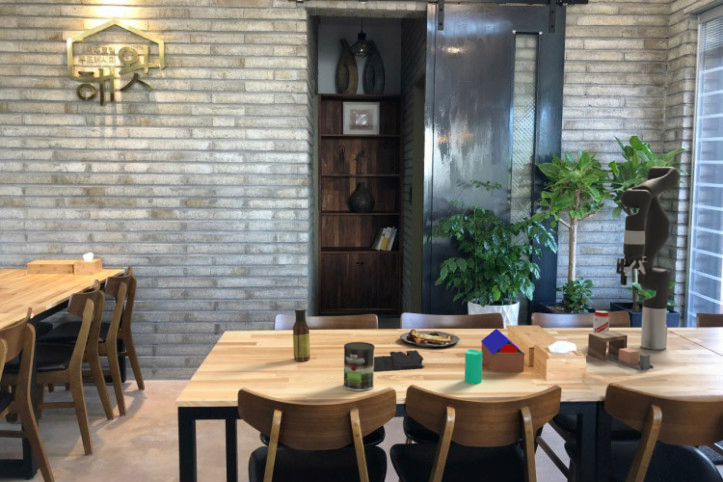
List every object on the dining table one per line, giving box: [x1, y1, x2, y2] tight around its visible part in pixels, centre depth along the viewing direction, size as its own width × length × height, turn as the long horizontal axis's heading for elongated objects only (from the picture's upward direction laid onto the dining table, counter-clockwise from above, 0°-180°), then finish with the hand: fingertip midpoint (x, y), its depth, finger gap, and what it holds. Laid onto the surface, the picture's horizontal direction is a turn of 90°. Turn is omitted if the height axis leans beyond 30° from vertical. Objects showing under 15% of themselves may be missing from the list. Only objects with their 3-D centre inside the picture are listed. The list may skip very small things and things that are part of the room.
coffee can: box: [343, 341, 376, 392], centre depth 228 cm, size 10×10×14 cm
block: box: [619, 347, 640, 365], centre depth 255 cm, size 5×5×5 cm
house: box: [480, 328, 526, 373], centre depth 257 cm, size 12×20×12 cm, turn 2°
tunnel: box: [587, 330, 628, 361], centre depth 264 cm, size 12×8×10 cm, turn 114°
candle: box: [464, 348, 483, 385], centre depth 235 cm, size 6×6×12 cm
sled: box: [609, 353, 654, 371], centre depth 253 cm, size 7×14×6 cm, turn 24°
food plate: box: [399, 329, 461, 348], centre depth 290 cm, size 25×23×4 cm
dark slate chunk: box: [374, 349, 426, 373], centre depth 255 cm, size 15×22×5 cm
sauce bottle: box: [292, 307, 311, 363], centre depth 259 cm, size 7×6×20 cm
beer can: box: [592, 309, 611, 349], centre depth 279 cm, size 6×6×16 cm
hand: (632, 284), depth 260 cm, fingers open, 8 cm apart
